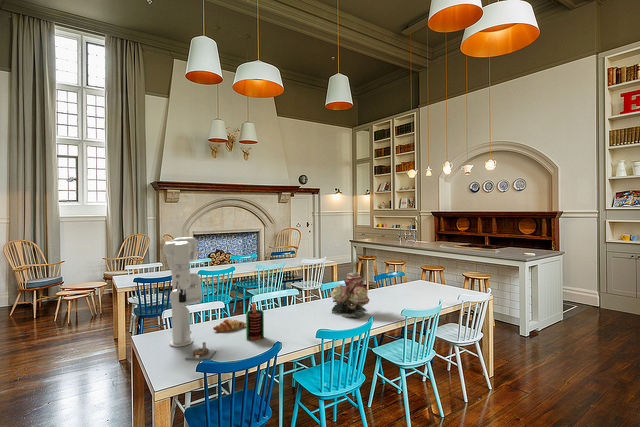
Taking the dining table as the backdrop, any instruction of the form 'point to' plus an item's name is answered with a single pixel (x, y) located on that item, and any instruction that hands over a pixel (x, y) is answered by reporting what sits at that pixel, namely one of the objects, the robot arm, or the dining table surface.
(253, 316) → the motor
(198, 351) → the sprocket
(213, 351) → the base plate
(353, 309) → the rose bouquet
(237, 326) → the croissant
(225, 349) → the dining table surface
